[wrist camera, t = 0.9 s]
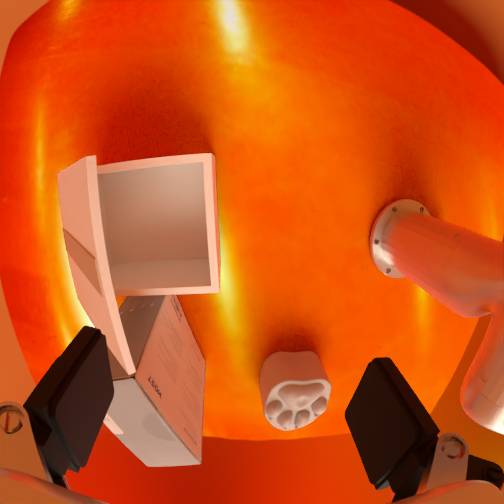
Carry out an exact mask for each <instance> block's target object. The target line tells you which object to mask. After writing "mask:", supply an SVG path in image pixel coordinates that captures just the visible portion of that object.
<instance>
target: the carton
mask: <svg viewBox="0 0 504 504" xmlns="http://www.w3.org/2000/svg"><path fill="white" fill-rule="evenodd" d="M97 180H98V192H99V202H100V211H101V220H102V227H103V234H104V241H105V247H106V253H107V259H108V265H109V270H110V275H111V280H112V285H113V289H114V294H115V296H147V295H178V294H202V293H220V267H221V258H220V242H219V225H218V206H217V186H216V161H215V156H214V155H213V154H212V153H202V154H189V155H177V156H166V157H157V158H148V159H140V160H132V161H125V162H118V163H112V164H106V165H100V166H97Z"/></svg>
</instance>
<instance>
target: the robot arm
mask: <svg viewBox="0 0 504 504" xmlns="http://www.w3.org/2000/svg"><path fill="white" fill-rule="evenodd" d="M369 244H370V253H371V257H372V260H373V262H374V264H375V265H376V267H377V268H378V269H379V270H380V271H381V272H383V273H384V274H385V275H387V276H390V277H393V278H402V277H407V278H408V279H410V280H411V281H413V282H414V283H415V284H417V285H418V286H420V287H421V288H422V289H424V290H425V291H426V292H428V293H429V294H430V295H432V296H433V297H434V298H436V299H437V300H438V301H440V302H441V303H442V304H444V305H445V306H446V307H448V308H449V309H451V310H452V311H453V312H455V313H456V314H458V315H460V316H462V317H467V318H474V317H480V316H483V315H486V314H489V313H492V318H491V321H490V324H489V327H488V329H487V333H486V335H485V337H484V339H483V342H482V344H481V346H480V348H479V350H478V352H477V354H476V356H475V358H474V360H473V362H472V364H471V366H470V368H469V370H468V372H467V374H466V376H465V378H464V380H463V383H462V386H461V391H460V399H461V404H462V406H463V408H464V410H465V412H466V413H467V414H468V415H469V416H470V417H471V418H472V419H473V420H474V421H475V422H477V423H478V424H480V425H482V426H484V427H486V428H488V429H490V430H493V431H495V432H498V433H500V434H503V435H504V243H503V242H500V241H497V240H494V239H492V238H489V237H487V236H484V235H482V234H479V233H476V232H474V231H471V230H469V229H466V228H463V227H461V226H458V225H455V224H452V223H449V222H447V221H444V220H441V219H438V218H435V217H432V216H431V215H430V213H429V211H428V210H427V209H426V207H425V206H423V205H422V204H421V203H419V202H417V201H415V200H411V199H399V200H396V201H394V202H392V203H390V204H389V205H387V206H386V207H385V208H384V209H383V210H382V211H381V212H380V214H379V215H378V217H377V218H376V220H375V222H374V224H373V227H372V230H371V234H370V241H369ZM113 397H114V385H113V380H112V374H111V368H110V362H109V356H108V349H107V342H106V336H105V335H104V334H102V332H101V330H100V329H97V328H93V327H89V326H84V327H83V328H82V329H81V330H80V332H79V333H78V334H77V335H76V337H75V338H74V339H73V340H72V342H71V343H70V344H69V346H68V347H67V348H66V349H65V351H64V352H63V353H62V355H61V356H60V357H58V358H57V359H56V360H55V362H54V363H53V364H52V366H51V367H50V368H49V370H48V371H47V372H46V374H45V375H44V376H43V378H42V379H41V380H40V382H39V383H38V385H37V386H36V388H35V389H34V390H33V392H32V393H31V395H30V396H29V397H28V399H27V401H26V402H25V403H24V405H23V406H21V405H20V404H18V403H15V402H11V401H9V402H8V401H7V402H2V403H0V504H110V503H106V502H103V501H100V500H97V499H93V498H91V497H88V496H85V495H82V494H79V493H77V492H74V491H72V490H70V488H69V486H68V484H67V481H66V479H65V477H64V475H65V474H66V471H67V469H69V470H72V471H74V472H77V473H78V472H79V470H80V467H85V466H86V464H87V461H88V458H89V456H90V453H91V451H92V448H93V445H94V443H95V441H96V438H97V435H98V433H99V430H100V428H101V426H102V423H103V421H104V419H105V416H106V414H107V411H108V409H109V407H110V404H111V402H112V400H113ZM345 419H346V421H347V424H348V426H349V429H350V432H351V434H352V437H353V439H354V442H355V444H356V447H357V449H358V452H359V455H360V457H361V460H362V462H363V465H364V468H365V470H366V473H367V476H368V478H369V481H370V483H371V484H374V485H375V488H376V490H380V489H383V488H387V487H389V486H390V487H391V489H392V491H391V493H390V495H389V498H388V500H387V502H386V504H504V473H503V470H502V468H501V467H500V466H499V465H498V464H495V463H494V462H490V461H487V460H484V459H481V458H478V457H475V456H473V455H469V448H468V445H467V443H466V442H465V440H464V439H463V438H462V437H460V436H459V435H456V434H453V433H446V434H443V435H442V436H440V437H439V438H438V436H437V434H438V433H439V432H440V430H439V429H438V427H437V426H436V424H435V423H434V421H433V420H432V418H431V416H430V415H429V413H428V412H427V410H426V409H425V407H424V406H423V404H422V403H421V402H420V400H419V399H418V397H417V396H416V394H415V393H414V391H413V390H412V388H411V387H410V385H409V384H408V383H407V381H406V380H405V378H404V377H403V375H402V374H401V373H400V371H399V370H398V368H397V367H396V366H395V364H394V363H393V361H392V360H391V359H390V358H388V357H384V358H374V359H373V360H372V362H370V363H369V364H368V366H367V368H366V370H365V372H364V374H363V377H362V379H361V381H360V383H359V385H358V387H357V389H356V391H355V393H354V395H353V397H352V399H351V401H350V403H349V405H348V407H347V409H346V411H345Z"/></svg>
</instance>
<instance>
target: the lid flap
mask: <svg viewBox="0 0 504 504" xmlns="http://www.w3.org/2000/svg"><path fill="white" fill-rule="evenodd" d="M57 179H58V191H59V201H60V210H61V217H62V224H63V233H64V239H65V245H66V250H67V253H68V259H69V263H70V268H71V272H72V277H73V281H74V285H75V289H76V293H77V297H78V299H79V301H80V303H81V305H82V306H83V308H84V310H85V311H86V313H87V315H88V316H89V318H90V320H91V321H92V323H93V324H94V326H95V328H97V329H100V330H101V332H102V334H104V335H105V336H106V342H107V346H108V347H109V349H110V350H111V352H112V353H113V354H114V356H115V357H116V359H117V360H118V361H119V363H120V364H121V365H122V367H123V368H124V369H125V371H126V372H127V373H128V375H130V374H133V373H135V372H136V370H135V367H134V364H133V361H132V358H131V354H130V351H129V348H128V344H127V341H126V337H125V334H124V330H123V327H122V323H121V319H120V315H119V311H118V307H117V303H116V298H115V294H114V289H113V285H112V280H111V275H110V270H109V265H108V259H107V253H106V247H105V241H104V234H103V227H102V220H101V211H100V202H99V192H98V180H97V164H96V155H94V156H86V157H84V158H82V159H81V160H79V161H77V162H75V163H74V164H72V165H70V166H69V167H67V168H65V169H64V170H62V171H60V172H59V173H57Z"/></svg>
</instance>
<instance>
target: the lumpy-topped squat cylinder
mask: <svg viewBox="0 0 504 504" xmlns="http://www.w3.org/2000/svg"><path fill="white" fill-rule="evenodd" d="M259 387H260V393H261V399H262V405H263V411H264V415H265V417H266V419H267V420H268V421H269V423H270V424H271V425H273V426H274V427H276V428H278V429H281V430H294V429H298V428H301V427H303V426H305V425H307V424H309V423H311V422H312V421H313V420H315V419H316V418H317V417H318V416H319V415H320V414H322V413H323V412H324V411H325V410H326V408H327V402H328V400H329V396H330V392H331V383H330V381H329V379H328V377H327V374H326V372H325V370H324V368H323V366H322V364H321V361H320V359H319V357H318V355H317V354H316V353H315V352H312V351H302V352H275V353H273V354H271V355H270V356H269V357H267V358H266V360H265V361H264V363H263V366H262V369H261V373H260V380H259Z"/></svg>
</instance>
